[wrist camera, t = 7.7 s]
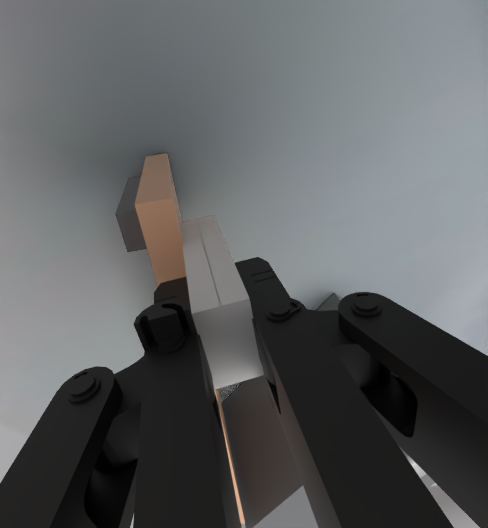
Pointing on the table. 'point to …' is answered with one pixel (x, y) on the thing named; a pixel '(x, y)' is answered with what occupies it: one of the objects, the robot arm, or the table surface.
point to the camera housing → (270, 457)
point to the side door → (160, 238)
